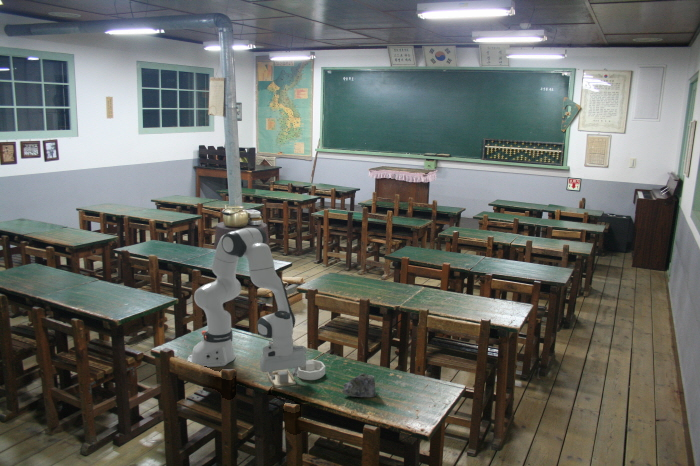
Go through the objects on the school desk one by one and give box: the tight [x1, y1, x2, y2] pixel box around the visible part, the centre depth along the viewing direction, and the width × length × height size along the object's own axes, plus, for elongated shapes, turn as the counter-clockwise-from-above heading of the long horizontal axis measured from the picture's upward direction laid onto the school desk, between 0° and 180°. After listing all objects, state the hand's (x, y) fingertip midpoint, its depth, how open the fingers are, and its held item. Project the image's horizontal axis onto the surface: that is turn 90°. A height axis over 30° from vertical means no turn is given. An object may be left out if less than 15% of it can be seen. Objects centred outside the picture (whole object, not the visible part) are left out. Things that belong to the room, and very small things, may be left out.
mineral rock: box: [342, 372, 376, 398], centre depth 233 cm, size 13×11×10 cm
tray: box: [266, 369, 297, 388], centre depth 245 cm, size 10×13×2 cm
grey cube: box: [304, 359, 315, 372], centre depth 253 cm, size 4×4×4 cm
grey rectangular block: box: [277, 370, 289, 384], centre depth 242 cm, size 4×4×4 cm
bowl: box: [296, 359, 326, 381], centre depth 251 cm, size 12×12×4 cm
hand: (283, 377), depth 242 cm, fingers open, 8 cm apart
